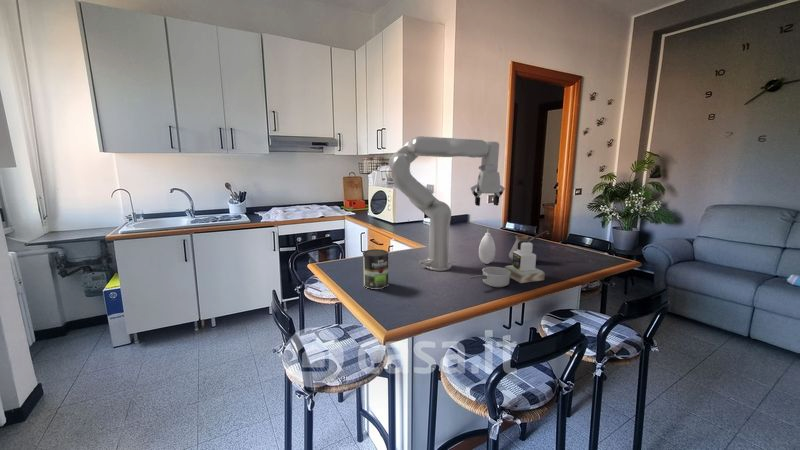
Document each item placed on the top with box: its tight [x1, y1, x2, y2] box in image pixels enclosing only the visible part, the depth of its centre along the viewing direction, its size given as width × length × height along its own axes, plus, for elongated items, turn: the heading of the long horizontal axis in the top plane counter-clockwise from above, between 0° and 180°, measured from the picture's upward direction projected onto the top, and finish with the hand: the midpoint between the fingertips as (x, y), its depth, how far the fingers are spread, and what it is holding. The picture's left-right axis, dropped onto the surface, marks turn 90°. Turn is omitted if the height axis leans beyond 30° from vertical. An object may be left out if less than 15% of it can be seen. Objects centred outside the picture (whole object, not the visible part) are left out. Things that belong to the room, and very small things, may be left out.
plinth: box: [503, 264, 546, 284], centre depth 146 cm, size 12×12×4 cm
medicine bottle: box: [511, 240, 537, 271], centre depth 144 cm, size 7×7×12 cm
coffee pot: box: [508, 230, 550, 262], centre depth 169 cm, size 21×12×15 cm, turn 106°
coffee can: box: [362, 248, 389, 289], centre depth 136 cm, size 10×10×14 cm
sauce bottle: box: [478, 230, 496, 265], centre depth 164 cm, size 8×8×18 cm
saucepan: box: [469, 266, 511, 288], centre depth 136 cm, size 12×20×6 cm, turn 121°
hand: (486, 205), depth 158 cm, fingers open, 9 cm apart
